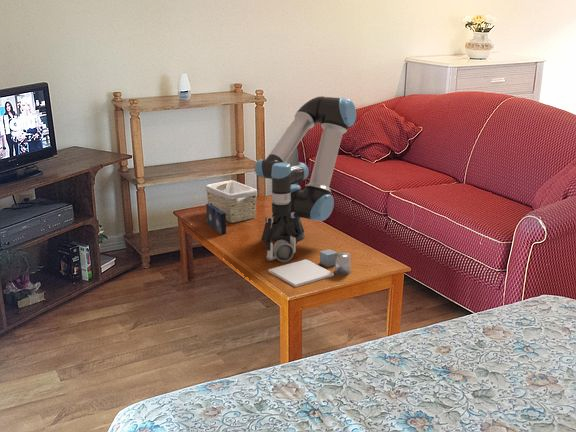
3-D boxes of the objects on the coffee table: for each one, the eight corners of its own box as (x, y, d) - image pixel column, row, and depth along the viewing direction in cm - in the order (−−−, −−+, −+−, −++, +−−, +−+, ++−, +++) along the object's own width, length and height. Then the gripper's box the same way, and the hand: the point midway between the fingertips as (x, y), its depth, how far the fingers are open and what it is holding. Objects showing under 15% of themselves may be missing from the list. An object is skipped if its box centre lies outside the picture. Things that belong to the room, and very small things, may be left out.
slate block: (329, 260, 272) (329, 248, 270) (337, 264, 268) (337, 252, 267) (319, 263, 269) (319, 251, 268) (327, 267, 265) (327, 255, 264)
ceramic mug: (289, 254, 279) (288, 236, 277) (294, 261, 271) (293, 243, 269) (264, 256, 277) (263, 239, 274) (268, 264, 269) (267, 246, 267)
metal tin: (343, 267, 264) (343, 251, 262) (353, 272, 260) (353, 255, 257) (331, 271, 261) (331, 254, 259) (341, 276, 256) (341, 259, 254)
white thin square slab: (306, 261, 271) (306, 259, 271) (333, 275, 257) (333, 273, 256) (268, 271, 261) (268, 269, 261) (295, 287, 247) (295, 284, 247)
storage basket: (205, 212, 334) (204, 184, 330) (233, 207, 343) (232, 178, 339) (230, 225, 316) (229, 194, 311) (259, 218, 325) (258, 189, 320)
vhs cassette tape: (226, 234, 304) (225, 213, 300) (220, 235, 302) (219, 214, 299) (212, 222, 319) (211, 202, 316) (206, 223, 318) (205, 203, 315)
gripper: (261, 209, 257) (262, 263, 264) (310, 199, 270) (309, 251, 276) (251, 204, 263) (252, 257, 270) (299, 195, 276) (299, 246, 282)
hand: (281, 254), depth 273 cm, fingers closed on ceramic mug, 10 cm apart
